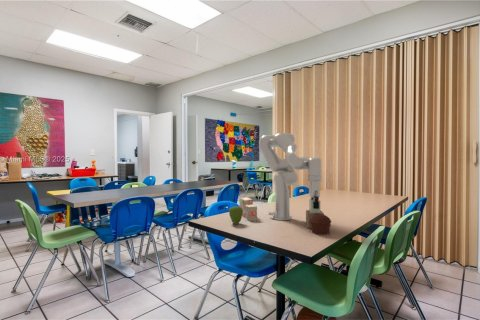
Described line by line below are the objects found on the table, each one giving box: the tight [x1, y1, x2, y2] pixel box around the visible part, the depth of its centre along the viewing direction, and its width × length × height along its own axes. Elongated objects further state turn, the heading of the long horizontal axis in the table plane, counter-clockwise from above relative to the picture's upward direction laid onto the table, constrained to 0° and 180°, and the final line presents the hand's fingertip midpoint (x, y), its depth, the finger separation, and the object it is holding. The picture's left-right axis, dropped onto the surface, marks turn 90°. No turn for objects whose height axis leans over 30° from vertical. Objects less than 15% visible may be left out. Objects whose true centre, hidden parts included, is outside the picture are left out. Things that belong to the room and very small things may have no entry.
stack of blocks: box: [238, 196, 258, 221], centre depth 189 cm, size 21×6×12 cm, turn 16°
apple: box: [228, 205, 243, 225], centre depth 171 cm, size 9×8×12 cm
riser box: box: [305, 209, 325, 230], centre depth 162 cm, size 9×9×9 cm
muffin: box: [310, 214, 333, 236], centre depth 150 cm, size 12×11×10 cm
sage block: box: [308, 198, 321, 213], centre depth 162 cm, size 6×6×7 cm
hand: (314, 206), depth 162 cm, fingers open, 9 cm apart
